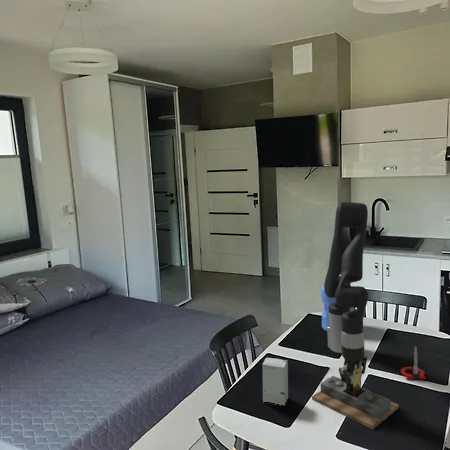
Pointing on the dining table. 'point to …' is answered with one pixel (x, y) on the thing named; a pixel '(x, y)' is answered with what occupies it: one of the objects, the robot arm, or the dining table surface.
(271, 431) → the dining table surface
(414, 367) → the tow hook
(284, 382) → the skincare box
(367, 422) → the board
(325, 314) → the water jug
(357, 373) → the pin
